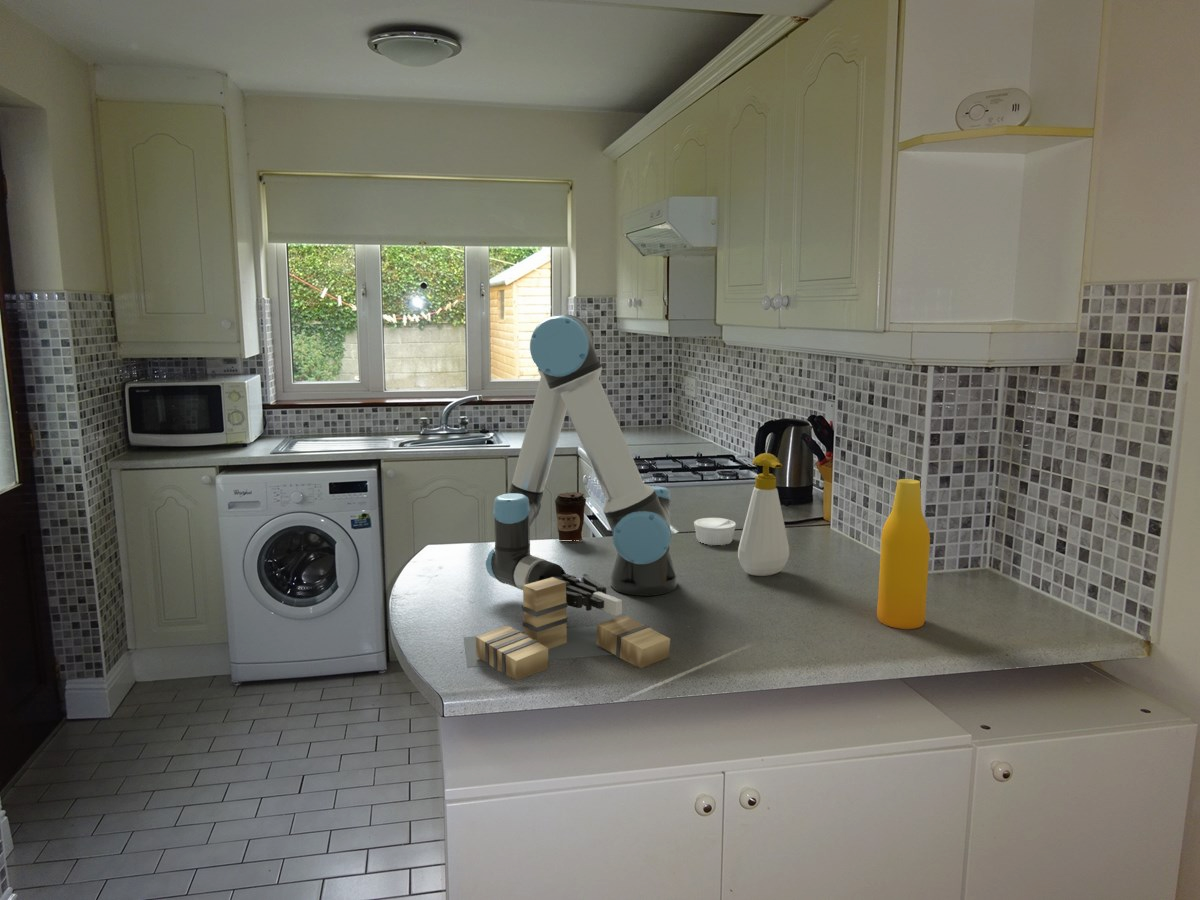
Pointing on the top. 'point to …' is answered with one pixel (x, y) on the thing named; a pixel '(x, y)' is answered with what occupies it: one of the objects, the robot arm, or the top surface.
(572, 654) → the mat
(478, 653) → the striped wooden block
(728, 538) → the ramekin
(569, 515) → the coffee cup
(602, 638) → the banded wooden block
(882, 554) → the beer bottle
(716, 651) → the top surface
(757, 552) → the soap bottle
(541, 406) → the robot arm
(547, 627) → the wooden block
